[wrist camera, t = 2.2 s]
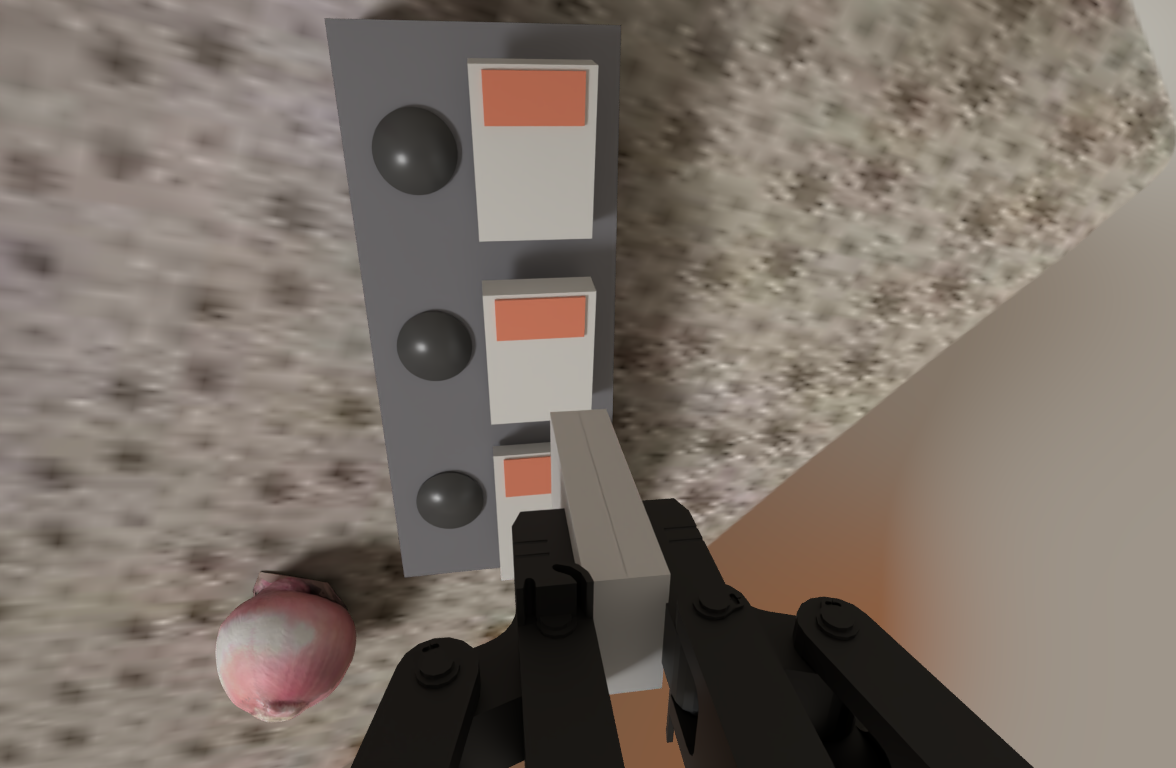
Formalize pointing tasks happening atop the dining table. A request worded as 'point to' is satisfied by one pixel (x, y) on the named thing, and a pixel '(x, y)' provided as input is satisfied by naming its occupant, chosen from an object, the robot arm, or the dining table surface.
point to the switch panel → (453, 260)
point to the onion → (285, 647)
